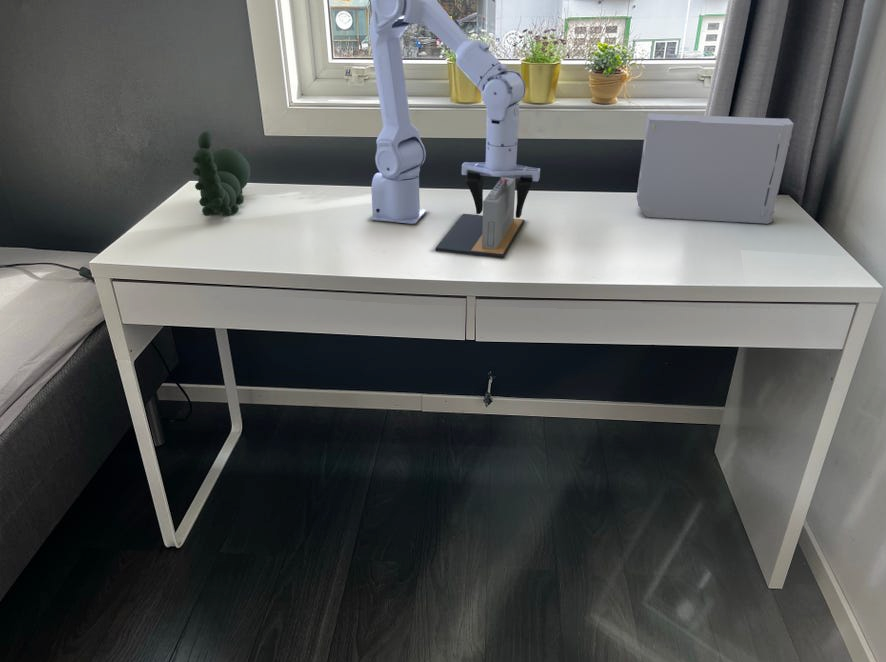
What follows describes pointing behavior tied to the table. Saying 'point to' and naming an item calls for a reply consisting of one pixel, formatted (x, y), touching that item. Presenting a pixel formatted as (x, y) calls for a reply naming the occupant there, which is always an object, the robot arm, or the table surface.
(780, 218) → the table surface
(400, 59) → the robot arm
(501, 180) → the cassette player
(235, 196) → the toy figurine
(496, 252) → the desk mat
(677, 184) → the game console
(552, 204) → the table surface
